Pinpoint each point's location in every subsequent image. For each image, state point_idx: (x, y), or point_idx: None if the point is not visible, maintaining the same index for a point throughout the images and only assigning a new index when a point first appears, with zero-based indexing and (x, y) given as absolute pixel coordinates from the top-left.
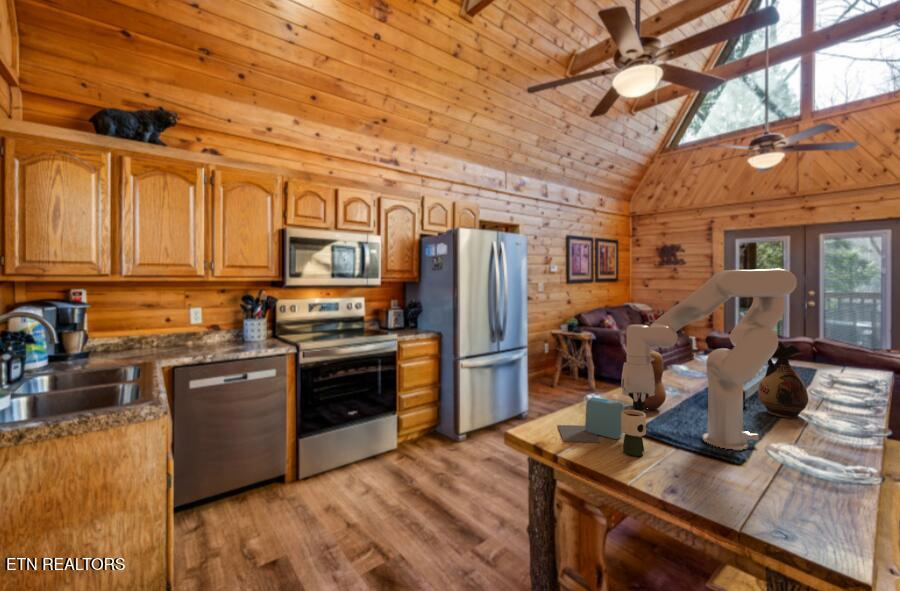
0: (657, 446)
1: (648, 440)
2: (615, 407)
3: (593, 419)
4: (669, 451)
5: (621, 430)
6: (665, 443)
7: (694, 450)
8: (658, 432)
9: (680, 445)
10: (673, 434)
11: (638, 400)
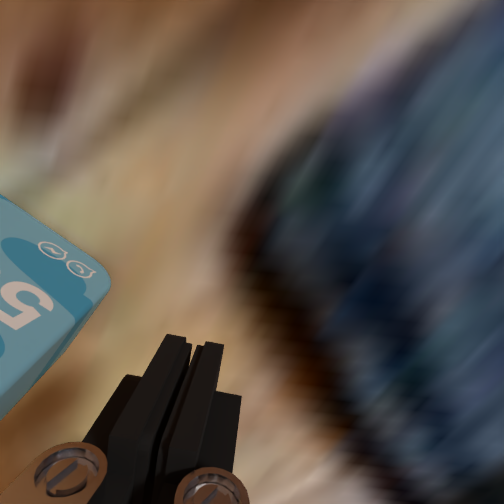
0: (258, 431)
1: (254, 353)
2: None
3: None
4: (284, 489)
5: (61, 351)
6: (330, 403)
7: (426, 496)
8: (408, 237)
9: (399, 436)
10: (489, 283)
11: (163, 489)
